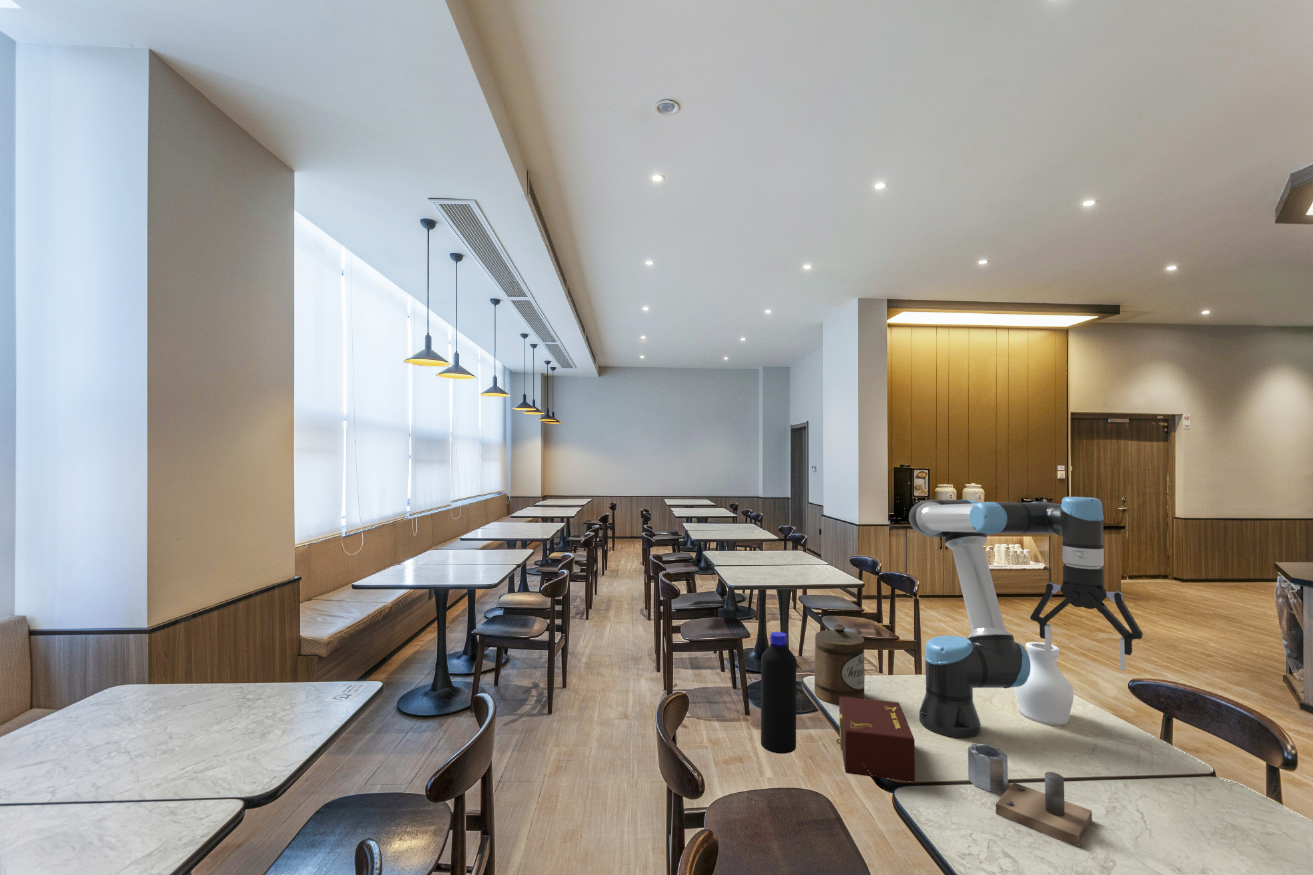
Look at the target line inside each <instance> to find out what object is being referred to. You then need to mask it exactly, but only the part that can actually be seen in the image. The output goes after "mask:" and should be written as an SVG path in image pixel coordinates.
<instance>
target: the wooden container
mask: <svg viewBox="0 0 1313 875" xmlns="http://www.w3.org/2000/svg"><path fill="white" fill-rule="evenodd" d="M845 629H846V627H845V625H843V624H842V623H835V624H834V625H833V629H830V630H828V629H825V630H820V631H817V632H816V633H815V635H814V636H815V637H814V638H815V639H814V640H815V641H814V644H815V646H814V647H815V648H814V652H815V653H814V695H815V696H816V697H817V698H818V699H820V700H822V701H824V702H827V703H830V704H834V705H839V698H840V697H850V698H860V699H865V679H866V678H865V676H866V675H865V673H866V672H865V639H864V637H862V635H860V634H858V633H854V632H851V631H845Z"/></svg>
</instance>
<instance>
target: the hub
mask: <svg viewBox="0 0 1313 875" xmlns="http://www.w3.org/2000/svg"><path fill="white" fill-rule="evenodd" d="M1008 758H1009V757H1008V754H1007V753H1006V752H1004V751H1003V750H1002V749H1001V748H999V747H996V746H993V745H990V744H987V743H972V744H970V745H969V746H968V748H967V760H968V761H967V764H968V765H967V768H968V774H967V775H968V776H967V777H968V779H967V780H969V781H970V782H971V784H972V785H973V786H974V787H976V788H979V789H981V790H984V791H987V792H989V793H1005V792H1006V791H1007V790H1008V788H1009V778H1008V777H1009V774H1008V773H1009V771H1008V770H1009V769H1008V768H1009V767H1008V763H1009V762H1008Z"/></svg>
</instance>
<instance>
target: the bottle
mask: <svg viewBox="0 0 1313 875" xmlns="http://www.w3.org/2000/svg"><path fill="white" fill-rule="evenodd" d="M769 636H770V637H769V643H770V644H769V646H768V647H767V648H766V649H765V650H764V651H763V653H762V654H761V657H760V659H761V660H760V666H761V667H760V690H761V691H760V745H761V747H763V749H765V750H766V751H768V752H770V753H773V754H779V755H782V754H785V755H786V754H791V753H793V752H795V750H796V748H797V658H796V655H795V654H794V653H793V652H792V651H791V650H790V649H789V647H788V637H787V633H785V632H782V631H772V632H770V635H769Z"/></svg>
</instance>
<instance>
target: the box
mask: <svg viewBox="0 0 1313 875" xmlns="http://www.w3.org/2000/svg"><path fill="white" fill-rule="evenodd" d="M838 705H839V708H838V711H839V712H838V714H839V715H838V716H839V717H838V720H839V722H838V723H839V725H838V726H839V727H838V728H839V729H838V730H839V731H838V732H839V733H840V734H839V733H838V734H839V737H837V738H836V743H837V744H838V745H839V749H840V751H841V753H842V758H843V765H844V771H845V772H844V773H846V774H849V775H856V776H863V777H864V776H865V777H871V778H872V776H871V775H873V778H878V779H879V778H880V779H885V778H889V779H888V780H893V779H894V781H902V782H908V781H911V782H910V783H915V782H916V759H915V756H916V755H915V754H916V752H915V750H916V749H915V744H916V743H915V742H916V741H915V740H916V739H915V738H914V735H913V732H912V730H911V728H910V726H909V723H908V721H907V719H906V716H905V714H904V711H903V709H902V707H901V704H900V703H899V702H896V701H887V700H877V699H876V700H875V699H869V698H868V699H867V698H864V699H860V698H850V697H840V698H839V704H838ZM862 763H863V764H862ZM863 765H865V766H863ZM865 767H866V768H865ZM867 770H869V771H867ZM869 772H870V773H871V775H870V773H869ZM875 775H876V777H875Z"/></svg>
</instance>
